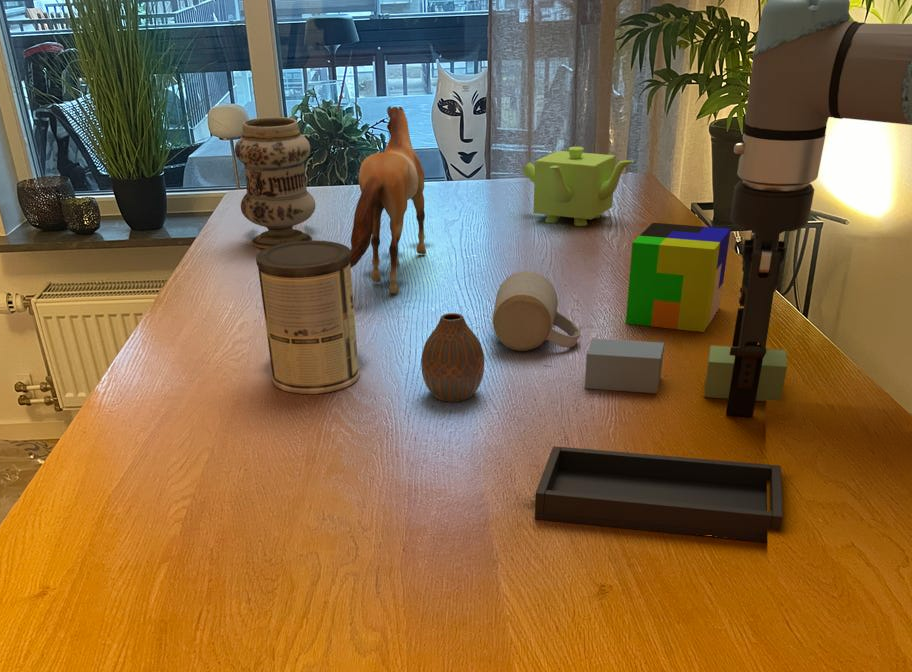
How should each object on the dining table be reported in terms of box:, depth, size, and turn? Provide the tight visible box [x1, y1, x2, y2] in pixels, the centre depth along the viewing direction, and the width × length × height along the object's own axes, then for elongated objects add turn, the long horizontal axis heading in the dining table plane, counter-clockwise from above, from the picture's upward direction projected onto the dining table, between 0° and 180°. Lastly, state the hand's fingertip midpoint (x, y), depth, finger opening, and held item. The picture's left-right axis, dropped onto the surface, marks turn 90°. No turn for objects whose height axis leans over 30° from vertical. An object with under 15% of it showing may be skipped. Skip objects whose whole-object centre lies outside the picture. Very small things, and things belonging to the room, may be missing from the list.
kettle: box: [521, 146, 635, 227], centre depth 169 cm, size 15×14×11 cm
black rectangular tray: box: [534, 446, 784, 543], centre depth 89 cm, size 21×10×3 cm, turn 75°
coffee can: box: [255, 240, 361, 395], centre depth 113 cm, size 10×10×14 cm
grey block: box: [584, 338, 665, 394], centre depth 112 cm, size 8×5×4 cm, turn 75°
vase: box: [420, 312, 485, 403], centre depth 109 cm, size 7×7×9 cm
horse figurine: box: [350, 106, 427, 295], centre depth 143 cm, size 31×8×21 cm, turn 167°
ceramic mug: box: [492, 270, 581, 352], centre depth 122 cm, size 11×8×8 cm
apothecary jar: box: [234, 116, 317, 250], centre depth 160 cm, size 12×12×18 cm
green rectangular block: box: [703, 345, 788, 402], centre depth 109 cm, size 8×5×4 cm, turn 75°
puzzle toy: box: [625, 222, 731, 333], centre depth 128 cm, size 10×10×10 cm
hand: (740, 389), depth 110 cm, fingers open, 13 cm apart
